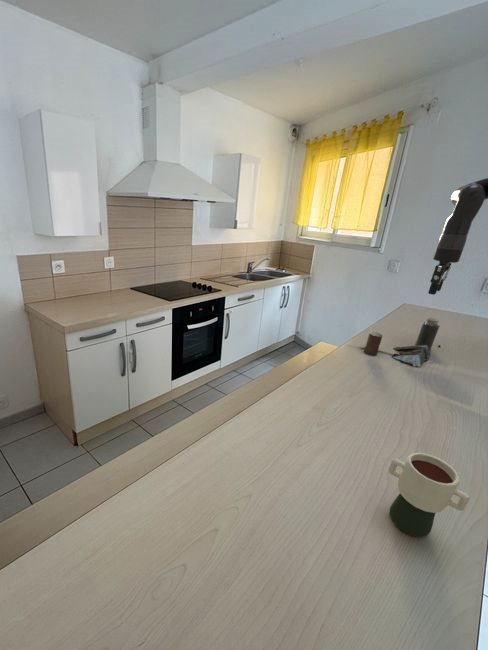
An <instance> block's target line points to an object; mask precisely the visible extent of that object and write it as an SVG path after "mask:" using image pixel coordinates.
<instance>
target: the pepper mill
mask: <svg viewBox="0 0 488 650" xmlns="http://www.w3.org/2000/svg"><path fill="white" fill-rule="evenodd" d="M439 329H440V325H439V319H437V318H432V317H427V318H426V321H424V322H422V324H421V327H420V331H419V334H418V335H417V339H416V341H415V345H414V346H420V345H428V350H429V351H430V352H431V350H432V348H433V345H434V342H435V340H436V337H437V334H438V331H439Z"/></svg>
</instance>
